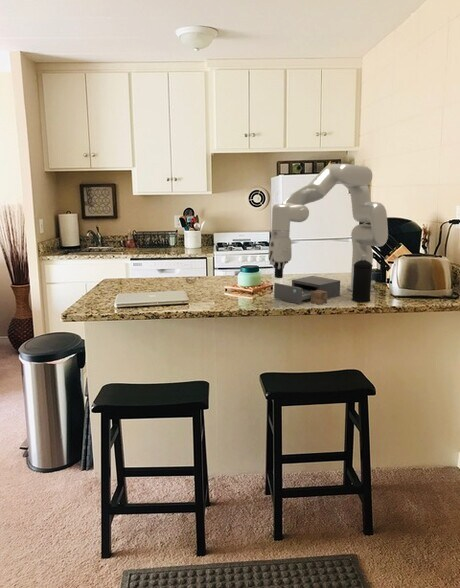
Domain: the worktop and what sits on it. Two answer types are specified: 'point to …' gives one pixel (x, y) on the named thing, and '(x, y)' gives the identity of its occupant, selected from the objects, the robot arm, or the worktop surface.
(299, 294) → the grey drawer
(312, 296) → the walnut block
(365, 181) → the robot arm
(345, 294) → the worktop surface
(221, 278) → the worktop surface
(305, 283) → the grey drawer box
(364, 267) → the aerosol can
